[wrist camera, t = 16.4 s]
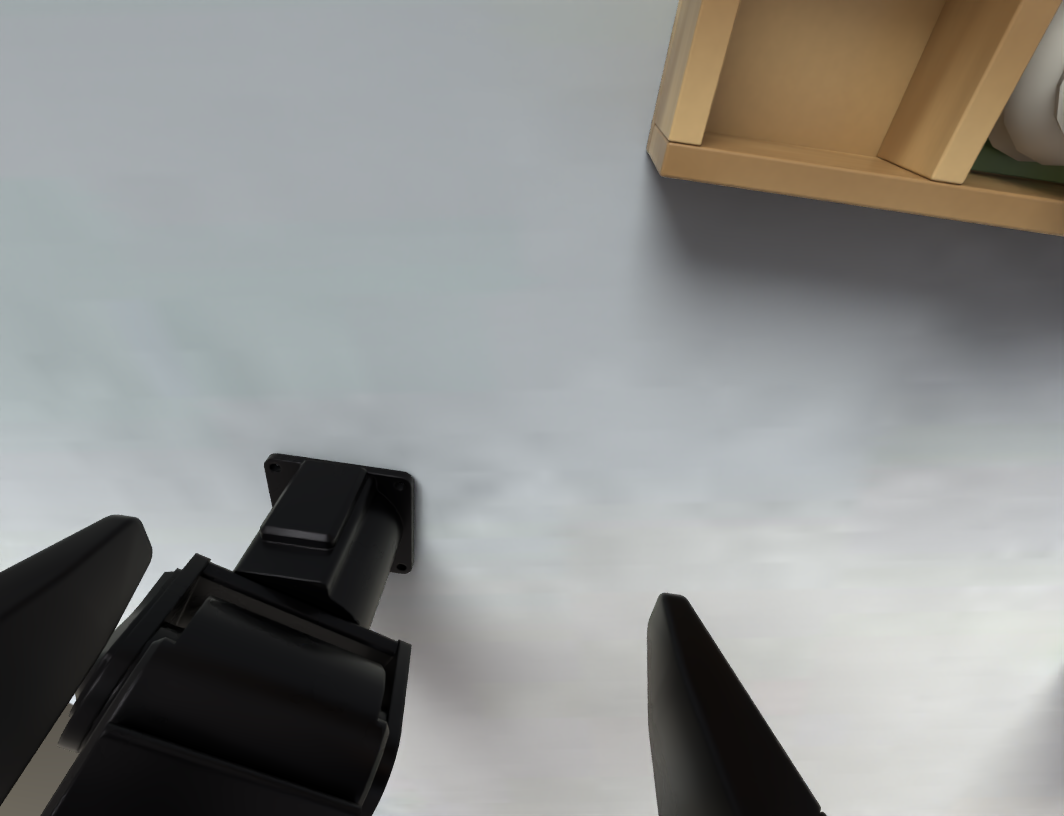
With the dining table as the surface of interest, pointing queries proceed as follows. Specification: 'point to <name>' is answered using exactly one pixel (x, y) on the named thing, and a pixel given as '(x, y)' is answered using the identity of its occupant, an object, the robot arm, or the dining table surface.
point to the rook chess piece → (1037, 104)
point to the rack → (857, 105)
